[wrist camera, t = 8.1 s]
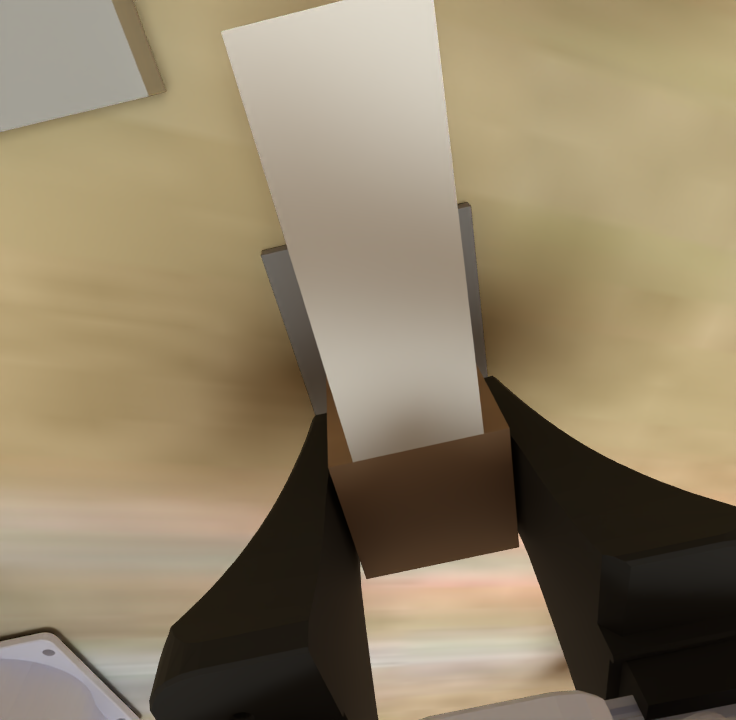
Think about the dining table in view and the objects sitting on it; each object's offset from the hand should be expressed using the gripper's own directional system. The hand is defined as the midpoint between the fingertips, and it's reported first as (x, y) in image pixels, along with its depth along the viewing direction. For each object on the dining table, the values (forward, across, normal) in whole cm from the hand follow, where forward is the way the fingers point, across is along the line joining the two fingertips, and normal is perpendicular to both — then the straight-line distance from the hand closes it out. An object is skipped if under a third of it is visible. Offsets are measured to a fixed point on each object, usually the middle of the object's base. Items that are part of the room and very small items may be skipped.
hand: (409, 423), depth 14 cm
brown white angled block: (+3, 0, -4) cm, 5 cm away
